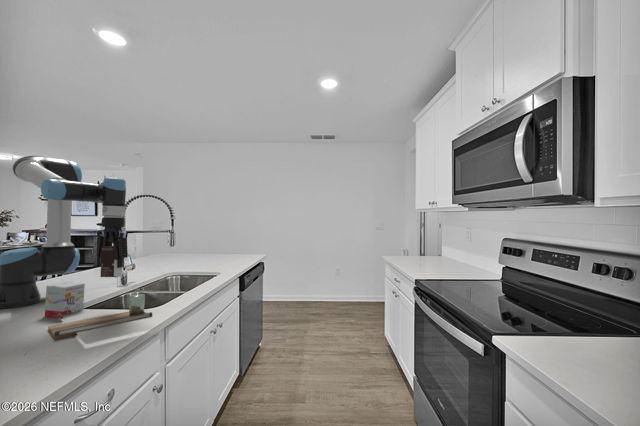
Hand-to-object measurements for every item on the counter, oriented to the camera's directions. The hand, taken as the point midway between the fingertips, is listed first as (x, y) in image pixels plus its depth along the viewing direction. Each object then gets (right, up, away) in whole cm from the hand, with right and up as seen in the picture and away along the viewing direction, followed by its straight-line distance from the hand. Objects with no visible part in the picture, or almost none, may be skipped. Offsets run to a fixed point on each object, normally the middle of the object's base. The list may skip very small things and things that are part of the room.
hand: (111, 275), depth 120 cm
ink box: (-17, -15, -2) cm, 23 cm away
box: (0, -1, 0) cm, 1 cm away
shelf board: (+5, -15, -12) cm, 20 cm away
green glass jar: (+12, -14, -3) cm, 19 cm away
